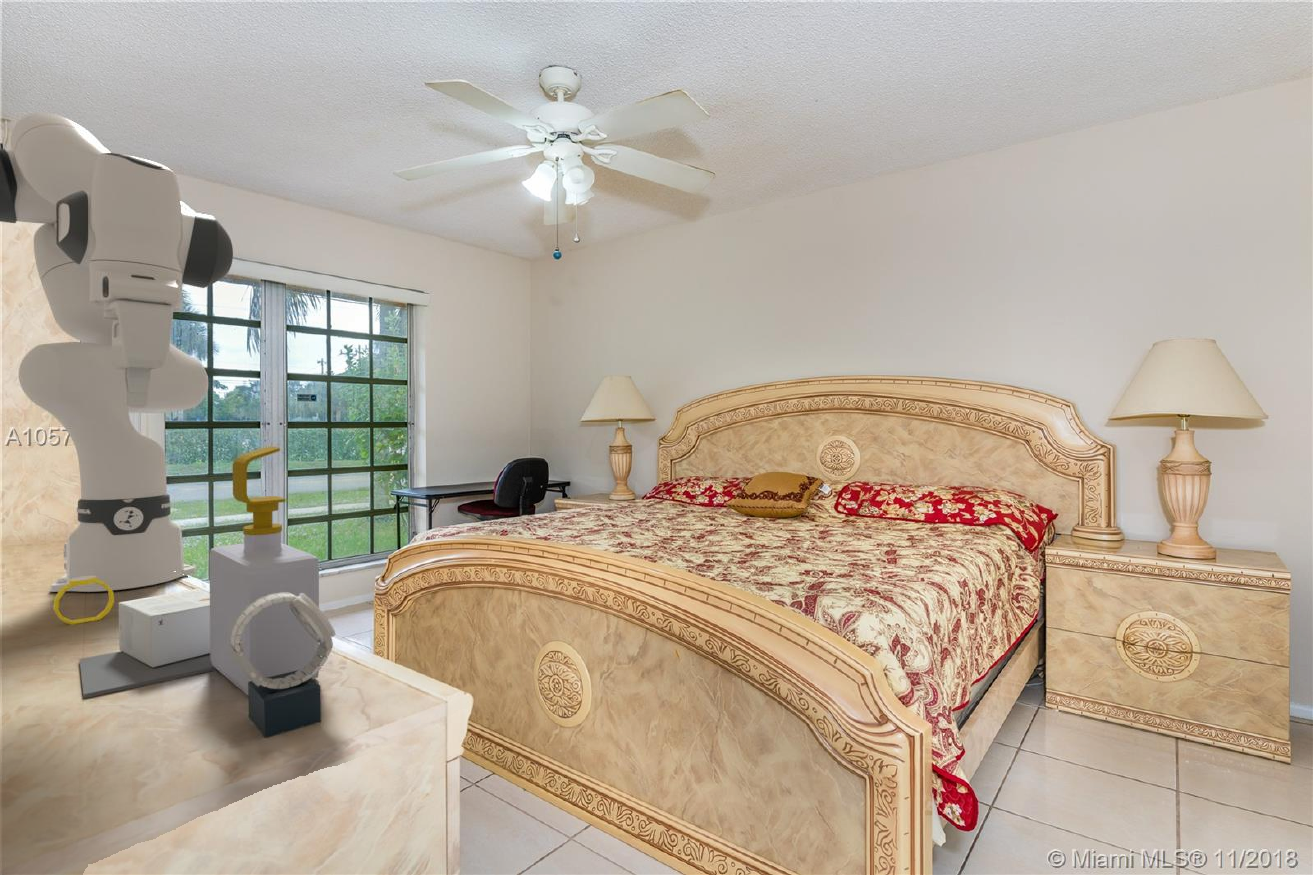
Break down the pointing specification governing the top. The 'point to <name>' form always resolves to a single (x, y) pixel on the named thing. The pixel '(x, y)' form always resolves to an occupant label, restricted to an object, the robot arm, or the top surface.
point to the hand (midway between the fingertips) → (137, 407)
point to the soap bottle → (260, 590)
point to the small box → (166, 627)
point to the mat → (133, 672)
